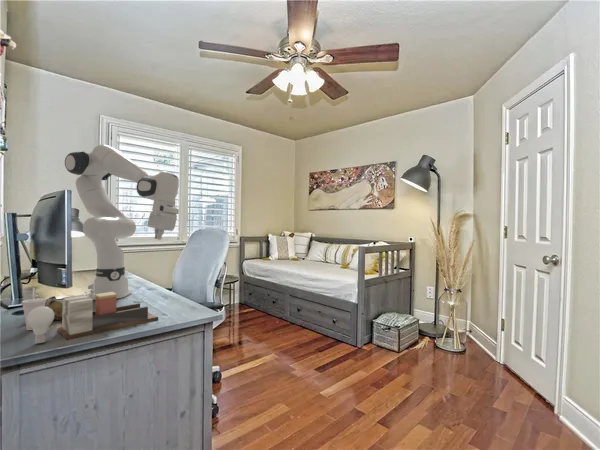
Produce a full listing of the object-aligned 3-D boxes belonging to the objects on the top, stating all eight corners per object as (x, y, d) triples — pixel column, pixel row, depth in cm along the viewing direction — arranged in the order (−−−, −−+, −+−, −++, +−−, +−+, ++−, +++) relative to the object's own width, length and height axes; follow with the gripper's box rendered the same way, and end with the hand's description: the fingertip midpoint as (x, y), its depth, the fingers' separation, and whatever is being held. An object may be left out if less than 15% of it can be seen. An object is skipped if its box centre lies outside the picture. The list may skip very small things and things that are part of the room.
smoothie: (17, 333, 101) (18, 289, 101) (25, 327, 107) (26, 286, 107) (42, 330, 104) (42, 288, 104) (48, 324, 110) (49, 285, 110)
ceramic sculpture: (43, 292, 122) (84, 294, 123) (41, 314, 122) (83, 315, 123) (22, 299, 111) (68, 300, 113) (20, 323, 111) (66, 324, 113)
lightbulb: (38, 348, 89) (38, 310, 89) (20, 346, 91) (20, 308, 90) (59, 340, 95) (59, 304, 95) (42, 338, 97) (42, 303, 97)
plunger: (94, 322, 109) (94, 294, 109) (111, 318, 113) (111, 291, 113) (99, 325, 106) (99, 296, 106) (117, 322, 110) (117, 294, 110)
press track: (57, 330, 104) (58, 297, 104) (144, 313, 125) (145, 285, 125) (66, 339, 96) (67, 304, 96) (158, 319, 117) (158, 290, 117)
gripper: (147, 206, 143) (141, 236, 142) (166, 207, 129) (160, 240, 128) (160, 209, 147) (155, 238, 146) (181, 210, 133) (175, 242, 132)
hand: (157, 239), depth 137 cm, fingers closed
